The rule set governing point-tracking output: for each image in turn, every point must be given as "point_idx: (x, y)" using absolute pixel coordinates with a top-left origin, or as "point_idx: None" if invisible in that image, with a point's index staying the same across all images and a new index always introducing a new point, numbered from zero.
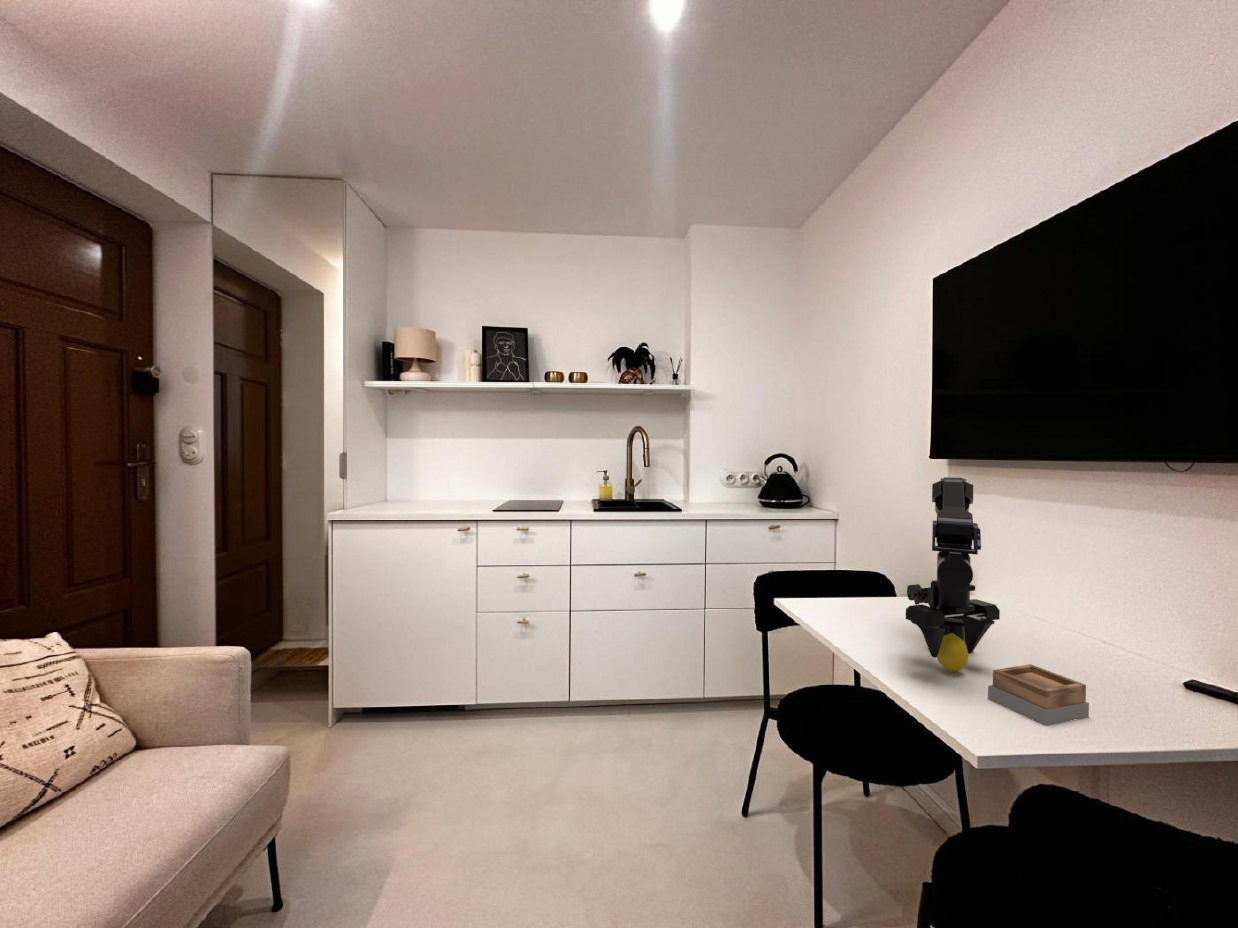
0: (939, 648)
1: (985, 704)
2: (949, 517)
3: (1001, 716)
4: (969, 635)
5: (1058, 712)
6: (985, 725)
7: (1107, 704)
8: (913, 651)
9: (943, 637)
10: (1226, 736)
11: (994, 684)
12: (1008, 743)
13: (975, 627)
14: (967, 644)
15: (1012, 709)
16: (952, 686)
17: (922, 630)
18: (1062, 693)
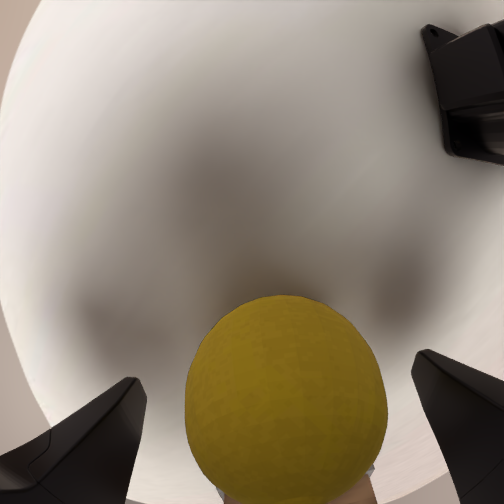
0: (130, 459)
1: (188, 466)
2: None
3: (183, 484)
4: (470, 426)
5: None
6: (133, 481)
7: (426, 456)
8: (302, 39)
9: (223, 475)
10: (424, 485)
11: (225, 497)
12: (137, 496)
13: (485, 488)
14: (435, 385)
15: None
16: (171, 408)
17: (3, 466)
18: None
